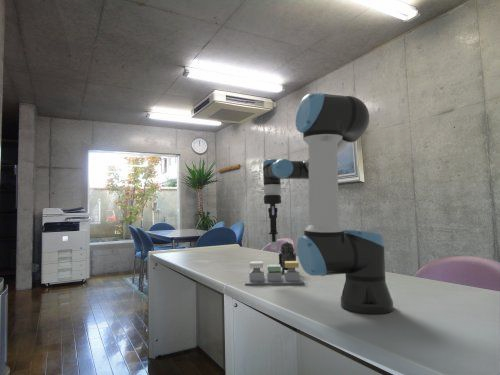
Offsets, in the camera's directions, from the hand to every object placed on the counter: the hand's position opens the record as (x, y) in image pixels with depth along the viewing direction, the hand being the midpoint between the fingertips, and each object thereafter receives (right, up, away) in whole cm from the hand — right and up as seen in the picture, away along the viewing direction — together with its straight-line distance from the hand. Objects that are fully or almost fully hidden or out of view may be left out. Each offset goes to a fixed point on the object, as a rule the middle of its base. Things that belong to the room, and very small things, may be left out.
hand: (273, 249), depth 139 cm
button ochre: (+8, -10, -1) cm, 13 cm away
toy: (+8, -15, +16) cm, 24 cm away
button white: (-7, -11, 0) cm, 13 cm away
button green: (0, -12, -1) cm, 12 cm away
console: (0, -14, -1) cm, 14 cm away
